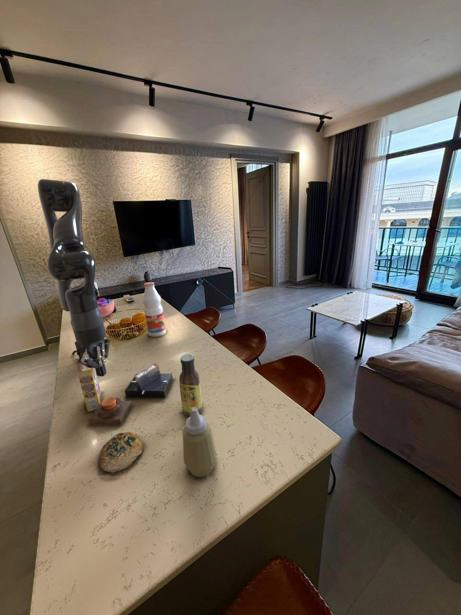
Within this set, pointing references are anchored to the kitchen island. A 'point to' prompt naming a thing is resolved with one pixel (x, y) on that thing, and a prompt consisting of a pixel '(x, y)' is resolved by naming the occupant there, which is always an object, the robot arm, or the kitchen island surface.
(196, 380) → the sauce bottle
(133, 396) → the tap base
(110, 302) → the soup bowl
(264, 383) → the kitchen island surface
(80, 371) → the candy box
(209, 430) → the squeeze bottle
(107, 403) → the button
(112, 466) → the bread roll
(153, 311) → the fruit juice
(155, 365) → the silver flat block
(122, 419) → the button block
